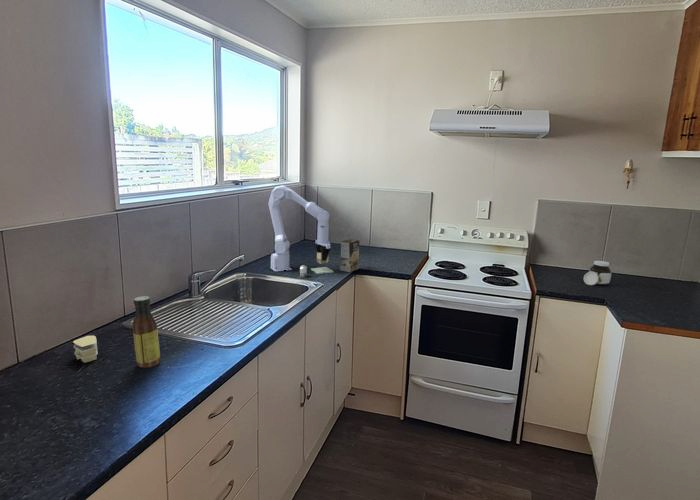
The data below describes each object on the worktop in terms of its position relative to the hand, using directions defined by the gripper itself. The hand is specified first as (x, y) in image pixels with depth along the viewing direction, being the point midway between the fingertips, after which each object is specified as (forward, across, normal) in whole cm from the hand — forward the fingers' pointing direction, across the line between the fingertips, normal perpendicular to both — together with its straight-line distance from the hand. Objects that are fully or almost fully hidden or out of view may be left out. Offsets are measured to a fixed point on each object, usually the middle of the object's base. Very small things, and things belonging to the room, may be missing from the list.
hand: (322, 259), depth 228 cm
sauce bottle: (+7, -74, +89) cm, 116 cm away
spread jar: (+7, -74, -122) cm, 143 cm away
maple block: (+2, 0, 0) cm, 2 cm away
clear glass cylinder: (+6, -6, +13) cm, 16 cm away
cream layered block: (+7, -63, +104) cm, 122 cm away
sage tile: (+6, 0, 0) cm, 6 cm away
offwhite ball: (+5, +2, +10) cm, 11 cm away
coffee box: (+7, -2, -15) cm, 17 cm away
